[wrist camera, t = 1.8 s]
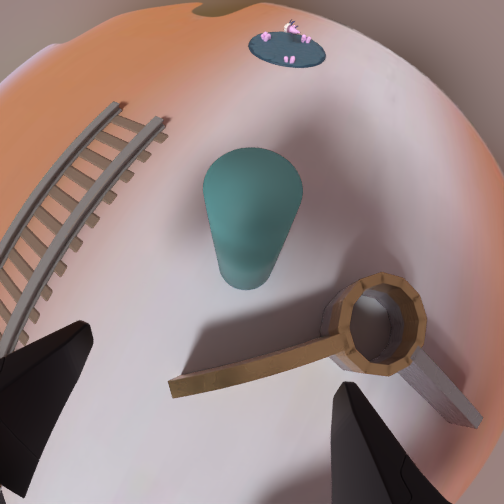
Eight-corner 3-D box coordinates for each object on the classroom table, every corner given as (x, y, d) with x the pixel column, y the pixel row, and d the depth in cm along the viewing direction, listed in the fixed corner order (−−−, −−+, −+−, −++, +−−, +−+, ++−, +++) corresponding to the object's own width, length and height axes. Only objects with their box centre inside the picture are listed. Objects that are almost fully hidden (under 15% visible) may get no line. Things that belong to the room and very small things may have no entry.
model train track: (175, 134, 29) (172, 122, 27) (17, 374, 19) (6, 374, 17) (111, 109, 30) (106, 99, 28) (-27, 309, 21) (-37, 306, 19)
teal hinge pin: (245, 301, 23) (254, 253, 11) (208, 263, 24) (182, 186, 12) (283, 263, 24) (321, 188, 12) (245, 229, 25) (252, 133, 13)
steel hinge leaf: (431, 447, 18) (458, 457, 14) (303, 333, 22) (317, 329, 18) (469, 388, 20) (497, 389, 16) (357, 269, 24) (379, 253, 20)
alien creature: (246, 33, 37) (248, 1, 31) (316, 38, 38) (323, 8, 31) (250, 68, 33) (252, 29, 27) (333, 74, 34) (344, 39, 28)
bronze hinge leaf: (282, 471, 18) (291, 494, 14) (175, 379, 20) (161, 386, 16) (411, 323, 23) (439, 316, 18) (320, 235, 25) (335, 213, 21)
